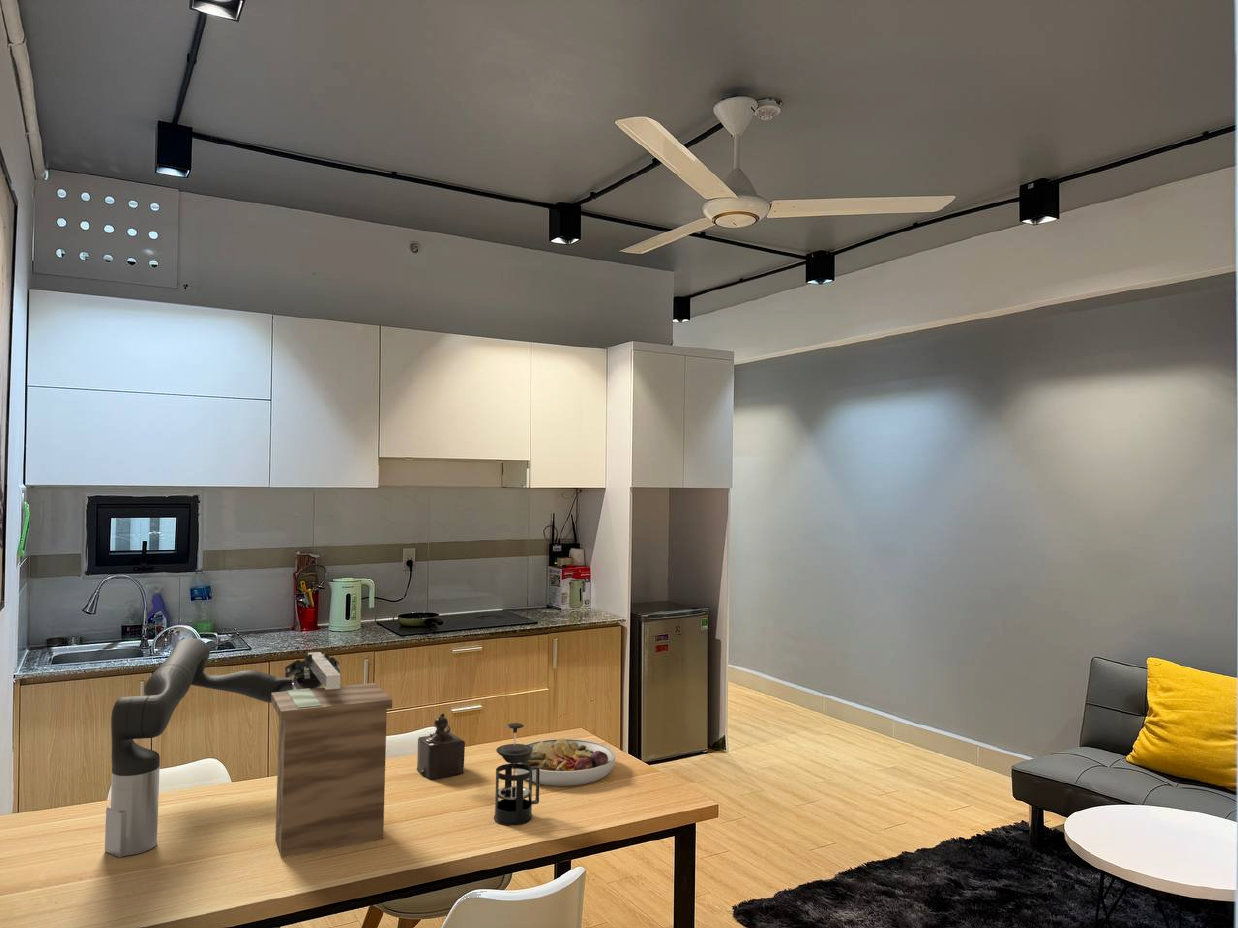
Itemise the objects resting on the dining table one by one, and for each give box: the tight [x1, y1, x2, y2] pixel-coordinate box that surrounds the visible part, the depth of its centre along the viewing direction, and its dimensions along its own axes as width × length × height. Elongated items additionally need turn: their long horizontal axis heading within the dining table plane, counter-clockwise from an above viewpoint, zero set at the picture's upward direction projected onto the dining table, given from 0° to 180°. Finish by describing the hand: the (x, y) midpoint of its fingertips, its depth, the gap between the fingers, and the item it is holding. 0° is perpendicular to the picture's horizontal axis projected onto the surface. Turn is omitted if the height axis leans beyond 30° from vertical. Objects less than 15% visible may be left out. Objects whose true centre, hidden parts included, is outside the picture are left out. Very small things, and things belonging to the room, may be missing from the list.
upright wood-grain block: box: [271, 682, 393, 859], centre depth 193 cm, size 18×24×32 cm
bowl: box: [515, 737, 616, 787], centre depth 240 cm, size 30×30×8 cm
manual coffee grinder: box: [416, 712, 466, 780], centre depth 235 cm, size 16×11×18 cm
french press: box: [493, 722, 540, 827], centre depth 205 cm, size 12×9×23 cm
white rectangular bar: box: [307, 651, 341, 690], centre depth 198 cm, size 28×3×3 cm, turn 28°
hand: (318, 657), depth 204 cm, fingers closed on white rectangular bar, 3 cm apart
